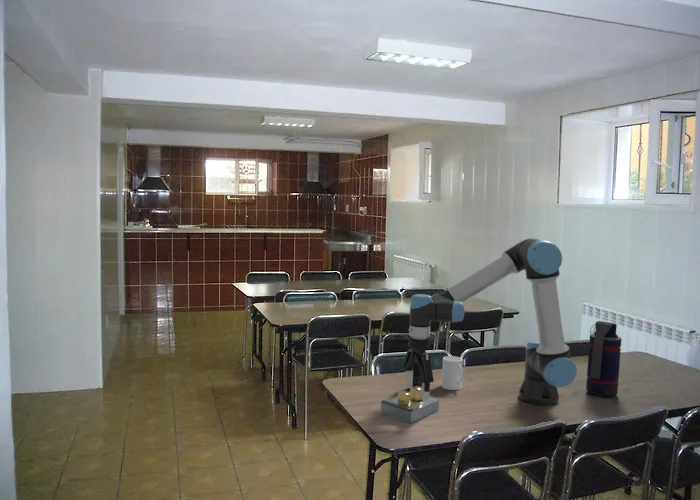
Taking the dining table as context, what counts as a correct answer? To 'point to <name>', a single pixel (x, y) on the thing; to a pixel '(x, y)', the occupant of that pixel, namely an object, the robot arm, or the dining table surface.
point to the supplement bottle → (417, 376)
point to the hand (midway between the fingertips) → (416, 393)
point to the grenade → (603, 360)
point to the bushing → (416, 393)
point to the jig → (408, 407)
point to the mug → (452, 373)
